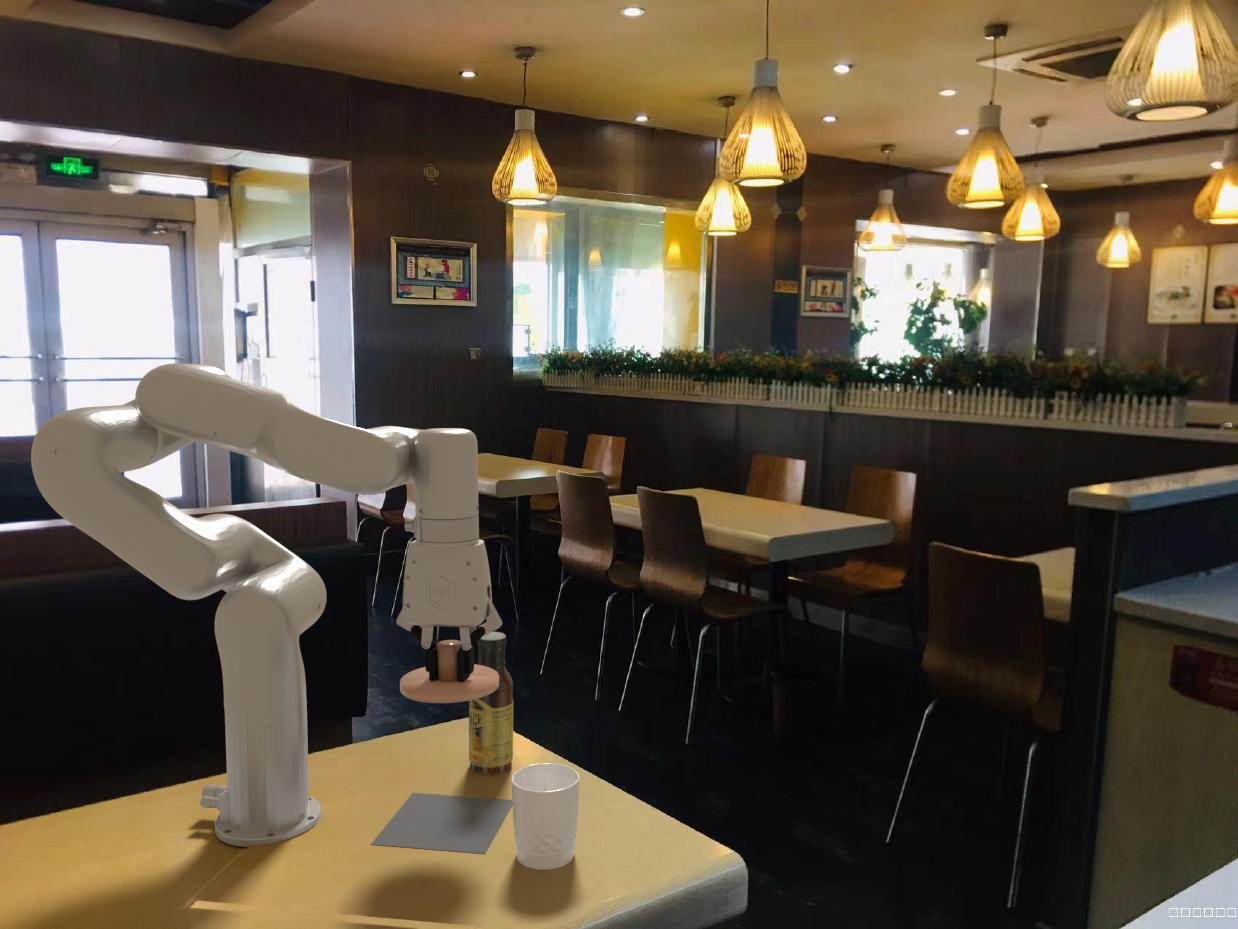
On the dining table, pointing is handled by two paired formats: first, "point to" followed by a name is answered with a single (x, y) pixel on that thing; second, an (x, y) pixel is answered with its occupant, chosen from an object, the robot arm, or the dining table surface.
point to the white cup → (545, 814)
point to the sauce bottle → (492, 713)
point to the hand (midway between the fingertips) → (450, 676)
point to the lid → (448, 679)
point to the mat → (445, 823)
